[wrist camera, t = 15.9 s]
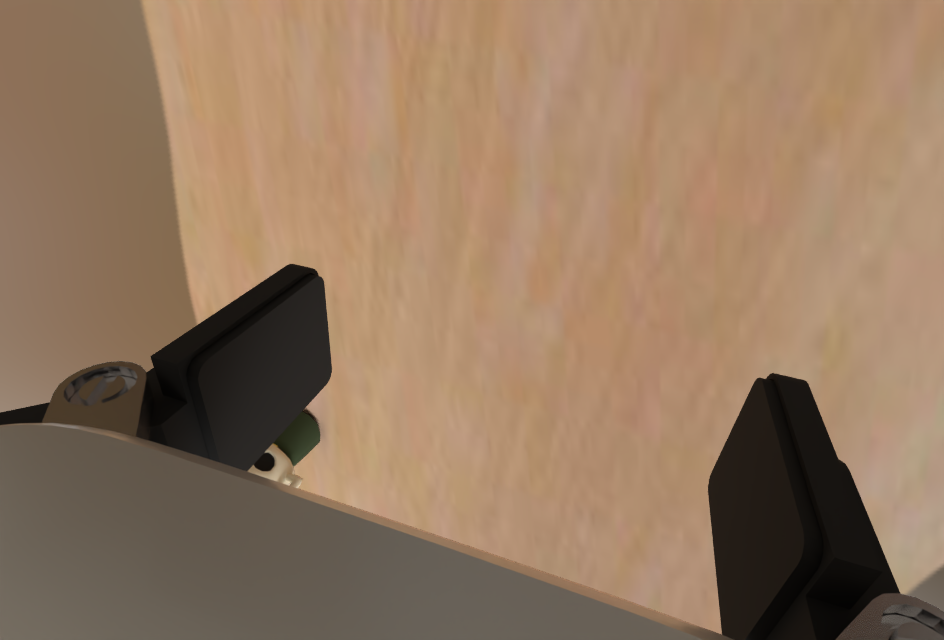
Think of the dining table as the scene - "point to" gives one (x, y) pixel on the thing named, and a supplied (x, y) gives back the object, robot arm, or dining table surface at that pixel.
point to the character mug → (288, 451)
